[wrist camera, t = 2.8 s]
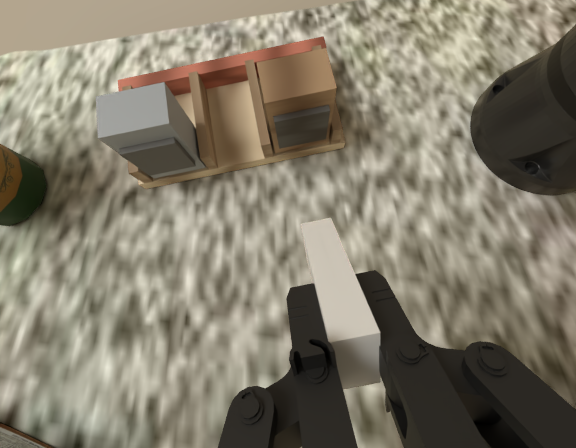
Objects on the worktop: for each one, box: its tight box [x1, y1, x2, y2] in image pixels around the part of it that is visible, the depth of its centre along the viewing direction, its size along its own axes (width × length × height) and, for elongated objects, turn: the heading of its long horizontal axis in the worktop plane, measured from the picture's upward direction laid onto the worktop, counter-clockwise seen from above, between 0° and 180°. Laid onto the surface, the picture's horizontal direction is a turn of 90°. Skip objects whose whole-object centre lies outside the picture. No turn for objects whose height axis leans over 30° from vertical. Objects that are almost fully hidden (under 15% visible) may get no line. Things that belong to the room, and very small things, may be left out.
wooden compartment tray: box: [118, 37, 345, 189], centre depth 33 cm, size 24×12×4 cm, turn 101°
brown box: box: [257, 48, 337, 153], centre depth 28 cm, size 6×5×9 cm
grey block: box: [96, 82, 206, 178], centre depth 28 cm, size 6×5×9 cm
